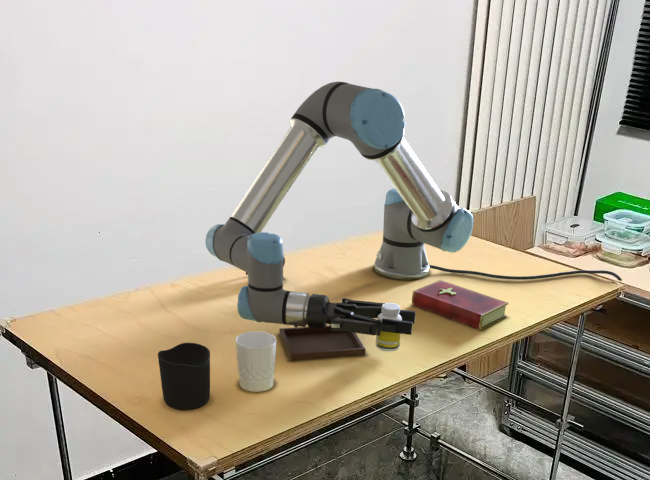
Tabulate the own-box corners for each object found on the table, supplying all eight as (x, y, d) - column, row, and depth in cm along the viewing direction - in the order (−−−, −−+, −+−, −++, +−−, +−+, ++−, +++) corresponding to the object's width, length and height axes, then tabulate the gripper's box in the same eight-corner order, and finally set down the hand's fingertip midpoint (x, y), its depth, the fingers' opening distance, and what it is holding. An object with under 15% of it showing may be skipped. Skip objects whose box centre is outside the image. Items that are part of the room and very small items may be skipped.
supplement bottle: (402, 351, 177) (406, 310, 173) (379, 353, 176) (382, 311, 171) (395, 341, 182) (399, 300, 177) (372, 342, 180) (375, 301, 176)
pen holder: (211, 411, 152) (208, 364, 147) (159, 412, 150) (155, 364, 145) (212, 387, 160) (210, 342, 155) (163, 388, 158) (160, 342, 153)
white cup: (261, 371, 167) (260, 327, 163) (284, 386, 163) (284, 341, 158) (229, 382, 162) (227, 337, 158) (252, 397, 158) (251, 351, 153)
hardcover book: (480, 330, 194) (482, 314, 192) (411, 305, 205) (412, 290, 203) (506, 317, 202) (508, 301, 200) (438, 293, 213) (440, 278, 211)
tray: (349, 330, 189) (350, 323, 188) (365, 355, 178) (365, 348, 177) (279, 334, 184) (279, 328, 183) (290, 361, 173) (290, 354, 172)
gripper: (317, 310, 187) (416, 322, 185) (298, 343, 171) (407, 356, 169) (318, 280, 183) (419, 291, 182) (299, 310, 167) (409, 323, 165)
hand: (413, 322), depth 175 cm, fingers closed on supplement bottle, 5 cm apart
